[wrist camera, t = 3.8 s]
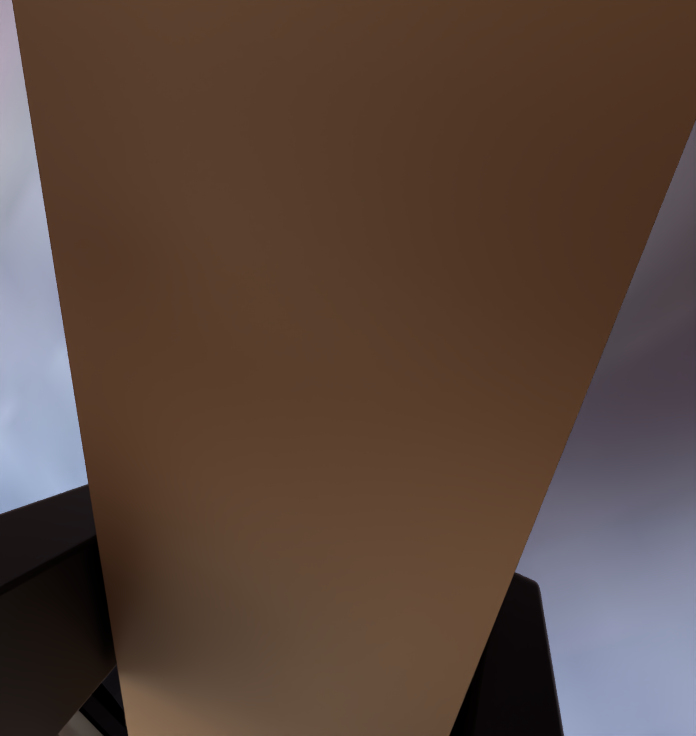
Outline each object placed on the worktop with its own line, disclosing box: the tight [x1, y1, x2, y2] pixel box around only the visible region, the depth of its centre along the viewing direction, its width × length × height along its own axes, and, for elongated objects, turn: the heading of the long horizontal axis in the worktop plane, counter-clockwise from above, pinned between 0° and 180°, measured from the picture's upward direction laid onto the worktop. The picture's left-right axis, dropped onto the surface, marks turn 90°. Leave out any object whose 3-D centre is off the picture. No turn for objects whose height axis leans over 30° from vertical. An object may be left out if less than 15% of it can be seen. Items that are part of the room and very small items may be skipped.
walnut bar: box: [12, 0, 696, 736], centre depth 8 cm, size 16×4×4 cm, turn 173°
